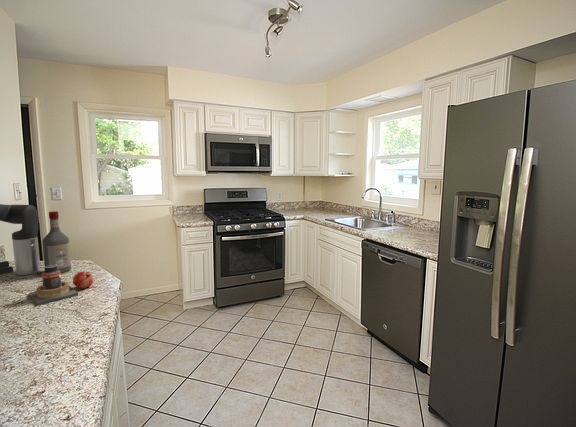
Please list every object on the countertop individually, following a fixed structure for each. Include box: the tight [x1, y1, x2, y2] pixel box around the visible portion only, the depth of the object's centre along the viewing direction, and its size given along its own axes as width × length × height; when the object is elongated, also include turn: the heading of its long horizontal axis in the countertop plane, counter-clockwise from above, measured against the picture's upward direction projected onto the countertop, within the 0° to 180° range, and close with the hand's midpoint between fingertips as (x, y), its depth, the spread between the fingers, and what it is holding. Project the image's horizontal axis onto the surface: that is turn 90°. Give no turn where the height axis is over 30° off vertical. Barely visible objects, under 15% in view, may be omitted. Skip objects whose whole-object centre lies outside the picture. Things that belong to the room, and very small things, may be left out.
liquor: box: [42, 210, 72, 274], centre depth 148 cm, size 9×9×30 cm
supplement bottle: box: [41, 265, 62, 290], centre depth 122 cm, size 6×6×11 cm
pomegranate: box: [72, 271, 95, 290], centre depth 131 cm, size 7×7×10 cm
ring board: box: [28, 280, 79, 307], centre depth 123 cm, size 14×13×4 cm
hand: (10, 266), depth 112 cm, fingers open, 8 cm apart
